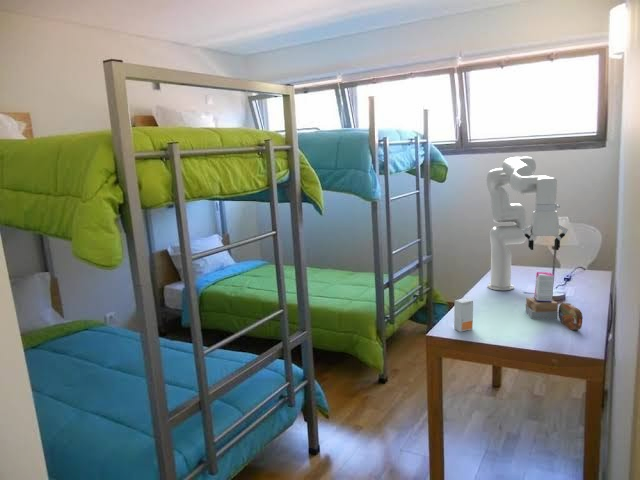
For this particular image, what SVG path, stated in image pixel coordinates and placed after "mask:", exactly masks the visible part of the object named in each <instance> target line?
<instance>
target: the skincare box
mask: <svg viewBox="0 0 640 480" xmlns="http://www.w3.org/2000/svg"><path fill="white" fill-rule="evenodd" d="M453 310H454V311H453V312H454V313H453V315H454V316H453V317H454V319H453V320H454V321H453V328H454V329H455V330H456V331H459V332H460V333H461V332H465V331H470V330H473V326H474V323H473V321H474V320H473V318H474V300H473V299H469V298H468V297H465V298H460V299H454V309H453Z"/></svg>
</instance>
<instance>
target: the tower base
mask: <svg viewBox="0 0 640 480" xmlns="http://www.w3.org/2000/svg"><path fill="white" fill-rule="evenodd" d="M524 311H525V313H526V314H527V315H528V316H529V317H530V319H531V320H558V319H559V314H558V311H552V312H535V311H533V310H532V309H530V308H529V307H527V306H526V305H525V310H524Z"/></svg>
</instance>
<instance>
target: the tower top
mask: <svg viewBox="0 0 640 480" xmlns="http://www.w3.org/2000/svg"><path fill="white" fill-rule="evenodd" d="M525 302H526V303H525V307H526V306H527V307H529V308H530V309H532V310H533V311H535V312H552V311H557V312H558V310H559V303H558V302H557V301H555V300H554V299H552V302H537V301H536V299H535V298H534V297H532V296H531V297H526V301H525Z"/></svg>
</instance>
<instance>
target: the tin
mask: <svg viewBox="0 0 640 480" xmlns="http://www.w3.org/2000/svg"><path fill="white" fill-rule="evenodd" d="M557 312H558V319H559V321H560V322H561V324H562V325H564V326H565V327H566V328H568V329H569V330H571V331H573V330H574V331H575V330H577V331H578V330H580V329H581V328H582V326H583V314H582V311H581V309H580V308H577V307H576V306H574V305H572V303H569V302H568V303H567V302H562V303H560V305H558V311H557Z"/></svg>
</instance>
